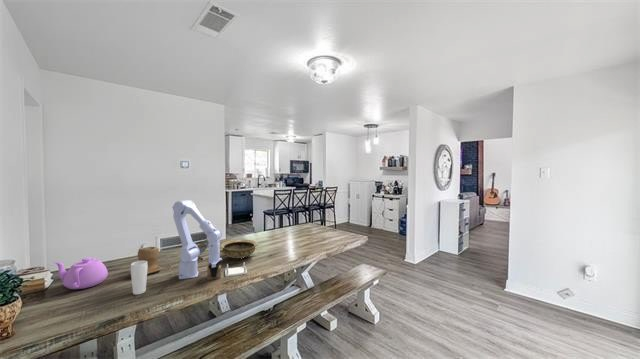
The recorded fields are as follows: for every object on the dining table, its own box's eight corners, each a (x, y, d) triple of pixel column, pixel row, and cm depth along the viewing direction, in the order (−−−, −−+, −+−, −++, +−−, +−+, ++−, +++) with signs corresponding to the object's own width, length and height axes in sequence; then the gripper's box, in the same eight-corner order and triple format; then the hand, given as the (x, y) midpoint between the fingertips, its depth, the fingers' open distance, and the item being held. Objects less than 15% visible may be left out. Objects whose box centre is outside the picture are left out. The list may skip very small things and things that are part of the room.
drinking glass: (145, 287, 127) (145, 259, 127) (149, 292, 123) (149, 262, 123) (129, 292, 122) (128, 262, 122) (133, 297, 118) (132, 266, 117)
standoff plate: (225, 276, 143) (225, 269, 142) (225, 270, 152) (225, 263, 151) (246, 274, 147) (246, 267, 147) (245, 268, 156) (245, 261, 156)
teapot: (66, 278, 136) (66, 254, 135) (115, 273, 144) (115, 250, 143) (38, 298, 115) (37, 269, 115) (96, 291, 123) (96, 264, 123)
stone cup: (157, 266, 155) (157, 243, 155) (163, 271, 147) (163, 247, 147) (127, 273, 144) (127, 248, 143) (132, 280, 136) (132, 253, 135)
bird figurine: (183, 265, 155) (199, 235, 163) (176, 262, 161) (192, 233, 169) (201, 271, 164) (216, 242, 172) (194, 267, 170) (209, 240, 178)
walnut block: (207, 280, 138) (207, 269, 138) (207, 276, 142) (207, 266, 142) (220, 278, 140) (220, 268, 140) (220, 275, 145) (220, 265, 144)
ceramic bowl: (225, 268, 155) (226, 252, 154) (210, 258, 171) (210, 244, 171) (266, 257, 176) (267, 243, 176) (249, 249, 193) (250, 236, 192)
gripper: (221, 255, 135) (221, 279, 136) (222, 247, 149) (221, 269, 149) (207, 256, 133) (207, 281, 133) (209, 248, 146) (209, 270, 147)
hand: (214, 275), depth 141 cm, fingers closed on walnut block, 4 cm apart
